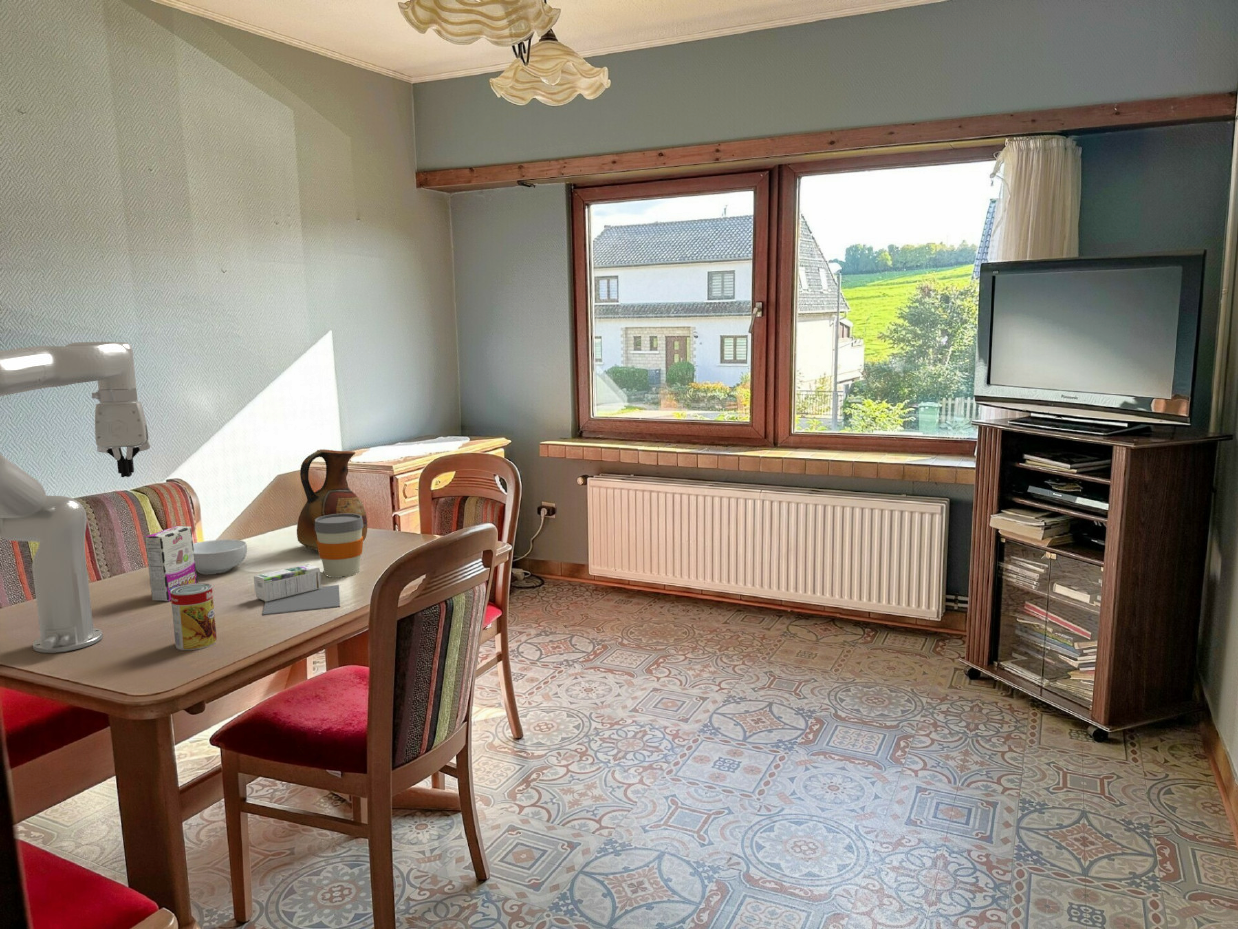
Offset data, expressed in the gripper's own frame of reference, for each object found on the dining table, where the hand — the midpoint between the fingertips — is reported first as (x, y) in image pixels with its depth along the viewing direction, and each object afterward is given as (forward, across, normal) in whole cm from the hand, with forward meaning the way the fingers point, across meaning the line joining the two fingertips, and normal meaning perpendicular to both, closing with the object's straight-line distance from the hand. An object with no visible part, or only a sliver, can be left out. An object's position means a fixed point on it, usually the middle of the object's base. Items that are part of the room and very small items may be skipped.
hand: (126, 476), depth 204 cm
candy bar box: (+32, +6, +10) cm, 34 cm away
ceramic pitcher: (+32, +44, +45) cm, 71 cm away
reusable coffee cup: (+32, +46, +16) cm, 58 cm away
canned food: (+32, +16, -30) cm, 47 cm away
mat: (+32, +36, -6) cm, 49 cm away
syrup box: (+29, +27, -4) cm, 40 cm away
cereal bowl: (+32, +13, +31) cm, 47 cm away
